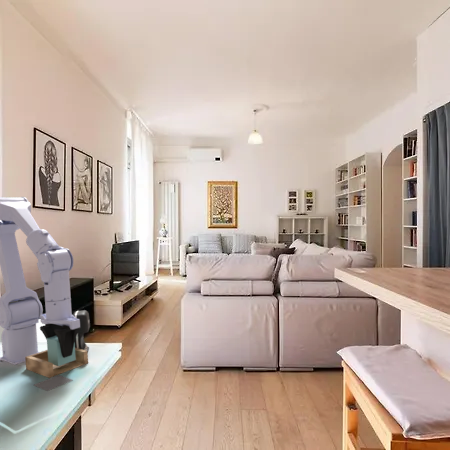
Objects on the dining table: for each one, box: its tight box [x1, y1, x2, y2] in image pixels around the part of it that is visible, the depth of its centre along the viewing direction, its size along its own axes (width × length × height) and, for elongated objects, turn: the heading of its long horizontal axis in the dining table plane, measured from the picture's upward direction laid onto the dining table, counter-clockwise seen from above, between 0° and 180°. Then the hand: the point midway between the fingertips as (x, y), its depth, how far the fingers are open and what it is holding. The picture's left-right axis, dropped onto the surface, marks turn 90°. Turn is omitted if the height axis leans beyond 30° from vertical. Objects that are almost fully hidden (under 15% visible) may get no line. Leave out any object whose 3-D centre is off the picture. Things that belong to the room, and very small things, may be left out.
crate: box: [25, 348, 89, 379], centre depth 94 cm, size 11×10×3 cm
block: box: [46, 335, 76, 366], centre depth 92 cm, size 4×4×6 cm
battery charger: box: [72, 309, 91, 354], centre depth 103 cm, size 7×4×11 cm, turn 15°
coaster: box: [33, 374, 74, 392], centre depth 83 cm, size 6×6×1 cm
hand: (61, 354), depth 92 cm, fingers closed on block, 4 cm apart
